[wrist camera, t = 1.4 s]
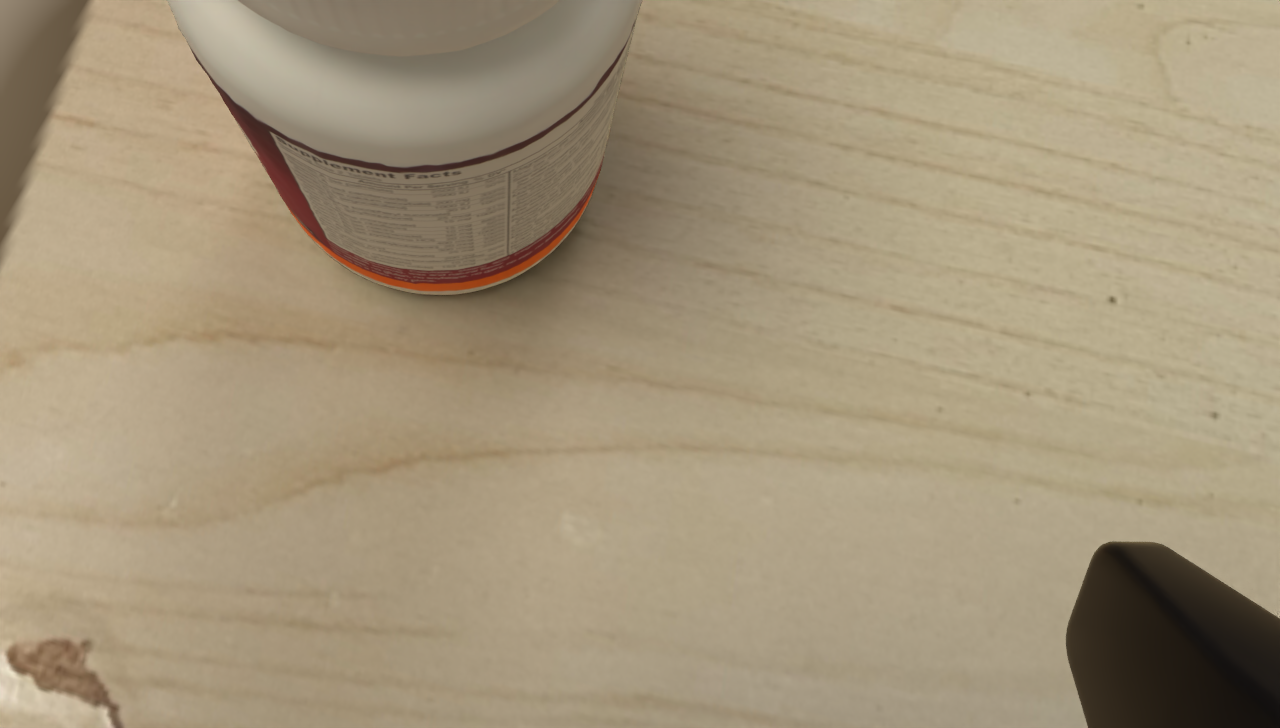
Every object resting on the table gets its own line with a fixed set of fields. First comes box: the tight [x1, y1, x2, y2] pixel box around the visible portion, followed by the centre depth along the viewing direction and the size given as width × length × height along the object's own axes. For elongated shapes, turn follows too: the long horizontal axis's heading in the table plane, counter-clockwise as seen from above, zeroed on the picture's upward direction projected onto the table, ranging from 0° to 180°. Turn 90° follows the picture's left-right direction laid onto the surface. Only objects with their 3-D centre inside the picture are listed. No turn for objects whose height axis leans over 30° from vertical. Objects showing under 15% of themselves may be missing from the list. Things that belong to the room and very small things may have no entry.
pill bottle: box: [167, 0, 642, 295], centre depth 17 cm, size 6×6×11 cm
